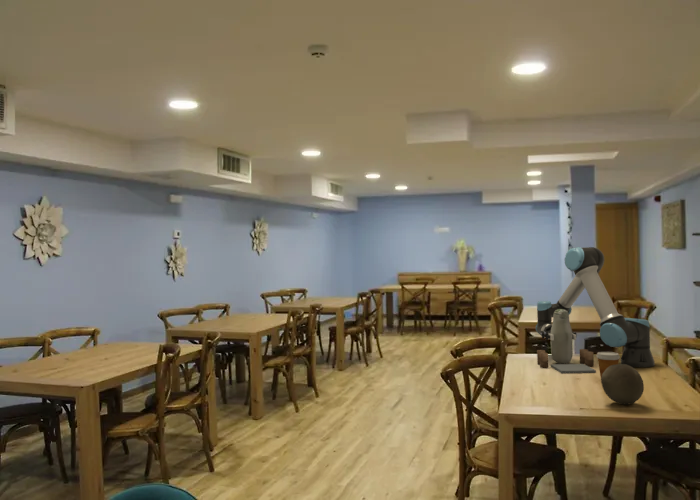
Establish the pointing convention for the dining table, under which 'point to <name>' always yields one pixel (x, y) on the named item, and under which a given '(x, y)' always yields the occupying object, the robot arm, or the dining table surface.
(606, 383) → the coconut
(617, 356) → the disposable coffee cup
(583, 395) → the dining table surface
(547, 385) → the dining table surface
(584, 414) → the dining table surface
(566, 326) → the grey ceramic vase
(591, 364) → the cylinder
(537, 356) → the cylinder
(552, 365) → the mat
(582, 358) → the cylinder
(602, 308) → the robot arm
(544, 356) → the cylinder
